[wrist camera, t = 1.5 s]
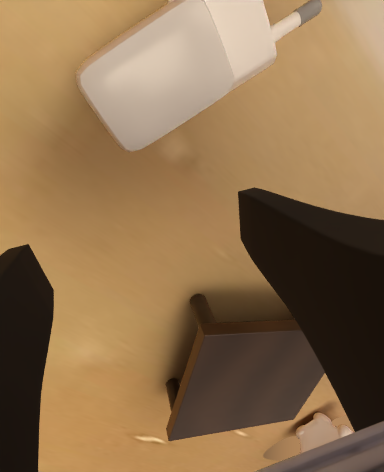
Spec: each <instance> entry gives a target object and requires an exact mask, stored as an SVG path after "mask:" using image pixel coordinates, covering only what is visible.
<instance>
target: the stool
mask: <svg viewBox="0 0 384 472" xmlns="http://www.w3.org/2000/svg"><path fill="white" fill-rule="evenodd" d="M190 304H191V307H192V310H193V313H194V315H195V318H196V321H197V324H198V326H199V329H198V332H197V335H196V338H195V342H194V345H193V348H192V351H191V354H190V357H189V360H188V363H187V366H186V369H185V372H184V375H183V378H182V382H181V385H180V384H179V381H178V380H177V379H171V380H169V381H168V382H167V383H166V388H167V393H168V398H169V403H170V408H171V415H170V418H169V422H168V425H167V428H166V430H167V435H168V441H173V440H179V439H184V438H190V437H196V436H202V435H207V434H213V433H219V432H225V431H230V430H236V429H242V428H248V427H253V426H259V425H265V424H271V423H276V422H282V421H288V420H293V419H294V418H295V417H296V415H297V414H298V412H299V411H300V409H301V408H302V406H303V405H304V403H305V402H306V400H307V399H308V397H309V396H310V394H311V393H312V391H313V390H314V388H315V387H316V385H317V384H318V382H319V381H320V379H321V378H322V376H323V375H324V373H325V371H324V369H323V368H322V366H321V364H320V362H319V360H318V358H317V357H316V355H315V353H314V351H313V349H312V348H311V346H310V344H309V342H308V340H307V339H306V337H305V335H304V334H303V332H302V330H301V328H300V327H299V325H298V323H297V322H296V320H278V321H254V322H230V323H216V322H215V319H214V317H213V315H212V312H211V310H210V308H209V305H208V303H207V301H206V298H205V296H204V295H202V294H197V295H194V296H193V297H192V298H191V299H190Z"/></svg>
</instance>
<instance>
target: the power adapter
mask: <svg viewBox="0 0 384 472" xmlns="http://www.w3.org/2000/svg"><path fill="white" fill-rule="evenodd" d="M321 10H322V2H321V0H310V1H308V2H307V3H305V4H303V5H302V6H300V7H299V8H297V9H296V10H294V11H293V13H291V14H290V15H288V16H287V17H285V18H283V19H282V20H280V21H279V22H277V23H276V24H273V25H271V26H270V23H269V20H268V16H267V13H266V9H265V6H264V2H263V0H168V2H167V4H166V5H165V6H163V7H162V8H160V9H158V10H157V11H155V12H154V13H152V14H150V15H149V16H147V17H146V18H144V19H143V20H141V21H140V22H138V23H137V24H135V25H134V26H132V27H131V28H129V29H128V30H127V31H125V32H124V33H122V34H121V35H119V36H118V37H116V38H115V39H113V40H112V41H110V42H109V43H107V44H106V45H105V46H103V47H102V48H100V49H99V50H97V51H96V52H95V53H93V54H92V55H91V56H89V57H88V58H86V59H85V61H84V62H83V63H82V64H81V65H80V67H79V68H78V69H77V71H76V80H77V86H78V88H79V90H80V91H81V93H82V95H83V96H84V98H85V99H86V101H87V102H88V104H89V105H90V107H91V108H92V110H93V111H94V112H95V114H96V115H97V117H98V118H99V120H100V121H101V122H102V124H103V125H104V127H105V128H106V129H107V131H108V132H109V134H110V135H111V136H112V138H113V139H114V140H115V141H116V143H117V144H118V145H119V146H120V147H121V149H123V150H126V151H128V152H133V151H137V150H141V149H143V148H144V147H146V146H148V145H149V144H151V143H153V142H155V141H156V140H158V139H159V138H161V137H163V136H164V135H166V134H167V133H169V132H171V131H172V130H174V129H175V128H177V127H178V126H180V125H181V124H183V123H185V122H186V121H188V120H189V119H191V118H192V117H194V116H195V115H197V114H198V113H200V112H201V111H203V110H204V109H206V108H207V107H209V106H210V105H212V104H213V103H215V102H216V101H218V100H219V99H220V98H222V97H223V96H225V95H226V94H228V93H229V92H231V91H232V90H234V89H235V88H237V87H239V86H240V85H242V84H243V83H245V82H246V81H248V80H249V79H251V78H252V77H254V76H256V75H257V74H259V73H260V72H262V71H263V70H265V69H266V68H268V67H269V66H271V65H272V64H274V61H275V59H276V56H277V51H276V46H275V42H277V41H278V40H280V39H281V38H282V37H283V36H285V35H286V34H288V33H289V32H291V31H292V30H294V29H295V28H297V27H300V26H301V25H303V24H304V23H306V22H308V21H309V20H311V19H312V18H314V17H315V16H317V15H318V14H319V13H320V12H321Z"/></svg>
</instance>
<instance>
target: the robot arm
mask: <svg viewBox="0 0 384 472" xmlns="http://www.w3.org/2000/svg"><path fill="white" fill-rule="evenodd" d="M238 198H239V216H240V234H241V240H242V242H243V244H244V246H245V248H246V250H247V252H248V253H249V255H250V257H251V259H252V260H253V262H254V263H255V265H256V266H257V267H258V269H259V270H260V271H261V273H262V274H263V275H264V277H265V278H266V279H267V281H268V282H269V283H270V285H271V286H272V287H273V289H274V290H275V291H276V293H277V294H278V295H279V297H280V298H281V299H282V301H283V302H284V303H285V305H286V306H287V308H288V309H289V310H290V312H291V313H292V315H293V317H294V318H295V320H296V322H297V323H298V325H299V327H300V328H301V330H302V332H303V334H304V335H305V337H306V339H307V340H308V342H309V344H310V346H311V348H312V349H313V351H314V353H315V355H316V357H317V358H318V360H319V362H320V364H321V366H322V368H323V369H324V371H325V373H326V375H327V377H328V379H329V381H330V383H331V385H332V387H333V388H334V390H335V392H336V394H337V396H338V398H339V400H340V402H341V404H342V406H343V408H344V410H345V412H346V414H347V416H348V418H349V421H350V422H351V425H352V427H353V429H354V431H355V432H354V433H352V434H349V435H347V436H344V437H342V438H339V439H337V440H334V441H331V442H329V443H326V444H324V445H321V446H319V447H316V448H314V449H311V450H309V451H306V452H303V453H301V454H298V455H296V456H293V457H291V458H288V459H286V460H283V461H280V462H278V463H275V464H273V465H270V466H268V467H265V468H263V469H260V470H258V471H255V472H384V220H378V219H371V218H365V217H360V216H355V215H349V214H344V213H340V212H335V211H331V210H328V209H324V208H320V207H316V206H313V205H310V204H306V203H303V202H300V201H297V200H293V199H290V198H287V197H284V196H281V195H278V194H275V193H272V192H269V191H266V190H262V189H258V188H251V189H247V190H243V191H239V192H238ZM53 310H54V290H53V288H52V286H51V284H50V283H49V281H48V279H47V277H46V275H45V273H44V272H43V270H42V268H41V266H40V264H39V262H38V261H37V259H36V257H35V255H34V253H33V251H32V250H31V248H30V246H29V244H27V245H23V246H19V247H15V248H11V249H8V250H7V251H6V252H4V253H3V254H2V255H1V256H0V472H38V448H39V420H40V402H41V390H42V382H43V375H44V369H45V363H46V358H47V352H48V346H49V340H50V334H51V328H52V322H53Z"/></svg>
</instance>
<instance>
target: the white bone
mask: <svg viewBox="0 0 384 472" xmlns="http://www.w3.org/2000/svg"><path fill="white" fill-rule="evenodd" d="M352 433H354V432H353V431H351V430H350V428H349V427H348V426H346V425H339V426H338V427H336V426H334V425H333V424H332V422H331V420H330V419H329V418H328V417H327V416H326V415H324V414H322V413H315V414H314V416H313V420H312V421H310V422H309V423H308V424H306V425H302V426H299V427H298V428H297V430H296V436H297V437H298V439H300V450H301V452H300V454H301V453H303V452H306V451H309V450H311V449H314V448H316V447H319V446H321V445H324V444H326V443H329V442H331V441H334V440H337V439H339V438H342V437H344V436H347V435H349V434H352Z"/></svg>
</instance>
